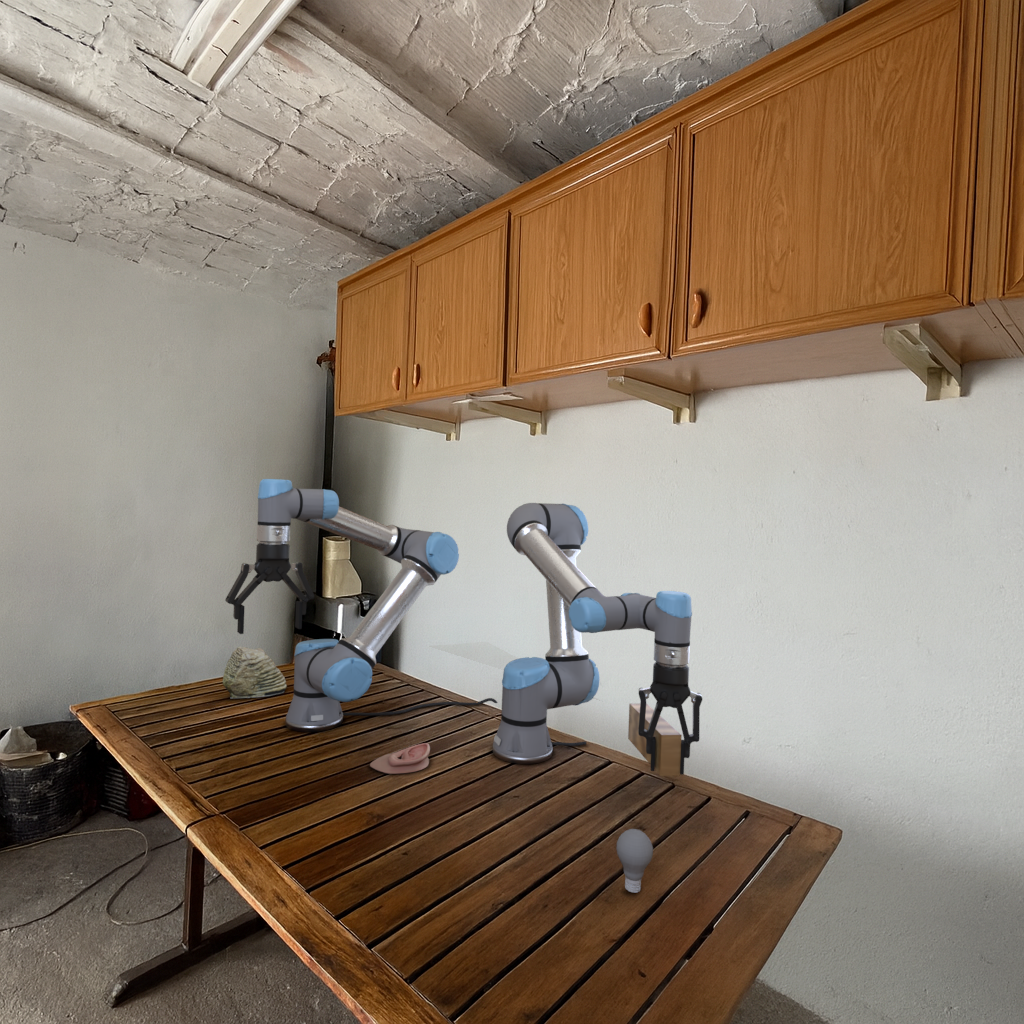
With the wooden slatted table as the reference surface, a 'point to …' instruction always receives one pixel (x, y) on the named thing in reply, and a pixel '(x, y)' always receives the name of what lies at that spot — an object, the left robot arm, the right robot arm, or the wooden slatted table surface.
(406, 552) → the left robot arm
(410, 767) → the anatomical model
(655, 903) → the wooden slatted table surface
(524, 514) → the right robot arm
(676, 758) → the bar
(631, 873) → the light bulb
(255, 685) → the fossil
